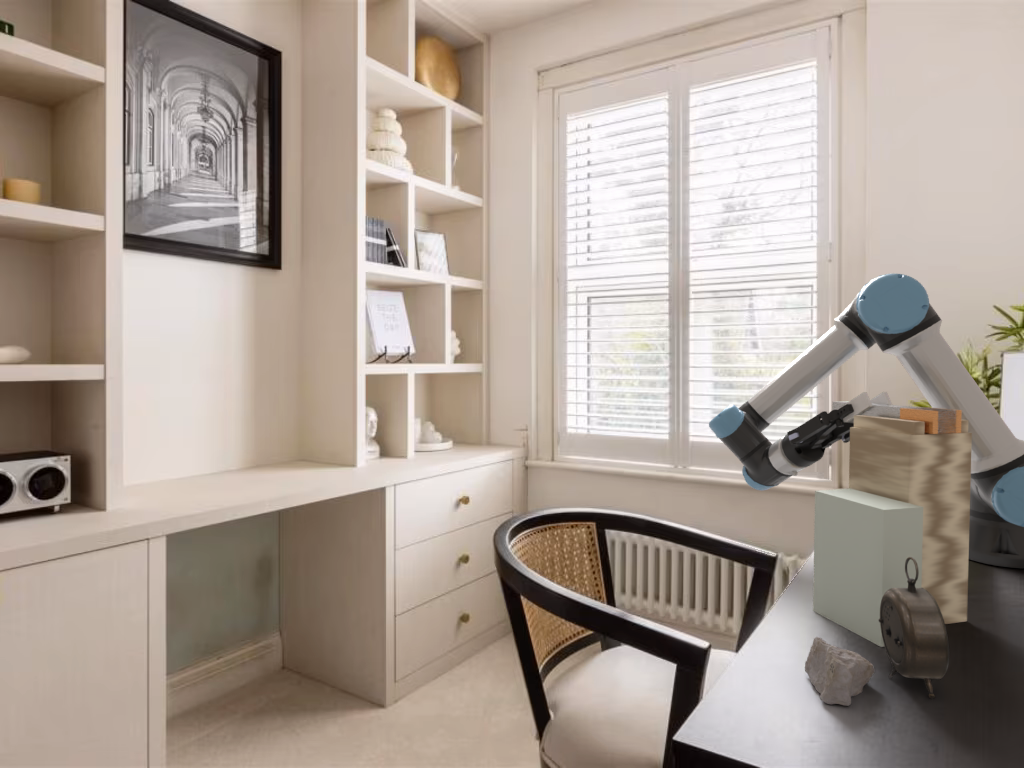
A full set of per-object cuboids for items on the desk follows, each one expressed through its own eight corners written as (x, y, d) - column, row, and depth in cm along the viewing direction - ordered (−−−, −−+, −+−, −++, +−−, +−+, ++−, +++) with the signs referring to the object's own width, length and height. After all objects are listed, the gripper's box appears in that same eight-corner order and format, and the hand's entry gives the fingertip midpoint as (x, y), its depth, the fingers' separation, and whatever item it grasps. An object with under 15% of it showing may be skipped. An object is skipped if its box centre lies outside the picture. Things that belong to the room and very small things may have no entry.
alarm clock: (951, 705, 78) (954, 572, 78) (902, 700, 79) (904, 569, 79) (914, 663, 89) (917, 546, 88) (871, 659, 90) (873, 544, 89)
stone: (883, 717, 76) (884, 668, 76) (807, 704, 79) (808, 657, 79) (872, 679, 85) (872, 635, 85) (804, 668, 88) (804, 626, 88)
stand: (903, 594, 115) (907, 413, 113) (966, 621, 103) (972, 420, 102) (846, 601, 112) (850, 415, 110) (905, 629, 100) (910, 422, 99)
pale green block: (848, 606, 109) (850, 488, 109) (920, 641, 96) (923, 506, 95) (813, 610, 108) (815, 490, 107) (881, 646, 94) (884, 509, 93)
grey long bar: (852, 419, 121) (852, 401, 121) (961, 432, 100) (961, 410, 100) (827, 420, 120) (827, 401, 120) (932, 434, 99) (933, 411, 99)
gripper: (837, 466, 133) (925, 417, 112) (767, 469, 128) (845, 420, 108) (825, 432, 136) (908, 379, 116) (755, 434, 132) (829, 380, 112)
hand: (877, 399), depth 112 cm, fingers closed on grey long bar, 3 cm apart
